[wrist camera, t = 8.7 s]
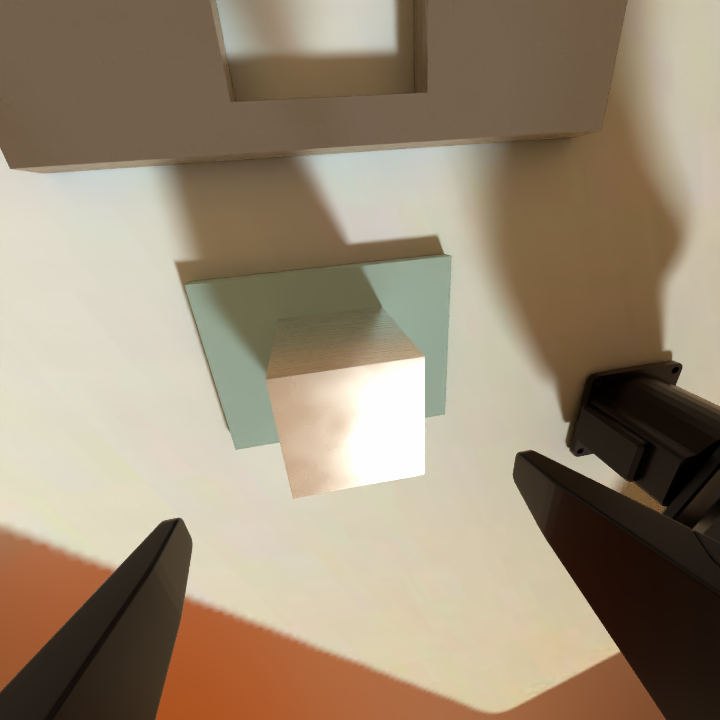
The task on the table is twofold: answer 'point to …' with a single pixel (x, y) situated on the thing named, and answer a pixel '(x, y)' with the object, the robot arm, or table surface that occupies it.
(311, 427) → the pale wooden block
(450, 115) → the grey flat plate
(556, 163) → the table surface
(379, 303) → the teal pad
